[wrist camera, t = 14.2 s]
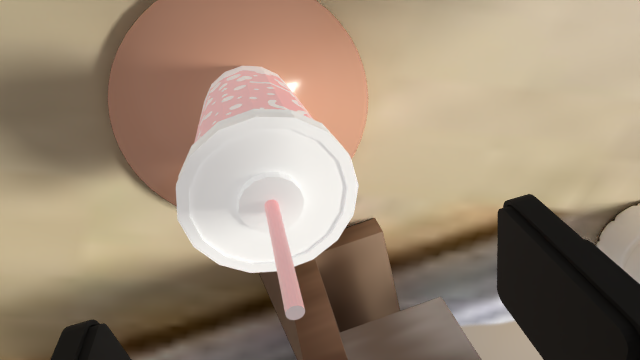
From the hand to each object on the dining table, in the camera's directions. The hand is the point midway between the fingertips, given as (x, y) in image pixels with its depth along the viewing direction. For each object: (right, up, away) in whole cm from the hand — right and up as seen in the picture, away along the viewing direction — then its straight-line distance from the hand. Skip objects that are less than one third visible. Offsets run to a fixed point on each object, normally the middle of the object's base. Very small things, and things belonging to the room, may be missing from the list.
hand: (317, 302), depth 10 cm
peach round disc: (-4, +7, +13) cm, 15 cm away
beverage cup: (-3, +7, +12) cm, 14 cm away
